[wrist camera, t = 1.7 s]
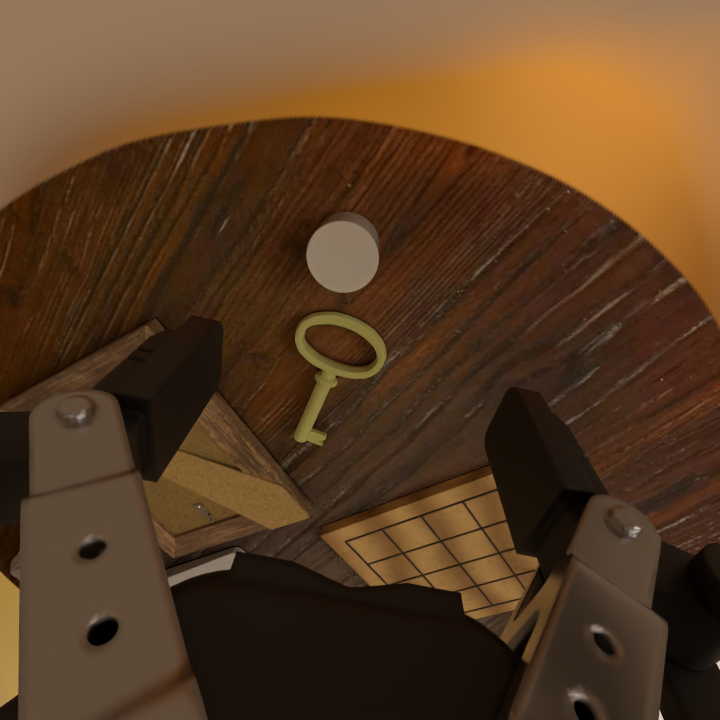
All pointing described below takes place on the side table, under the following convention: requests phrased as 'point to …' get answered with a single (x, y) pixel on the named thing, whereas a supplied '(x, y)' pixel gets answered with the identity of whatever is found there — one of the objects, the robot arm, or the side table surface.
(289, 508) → the picture frame
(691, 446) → the side table surface
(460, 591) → the game board
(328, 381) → the key
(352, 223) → the white stone
